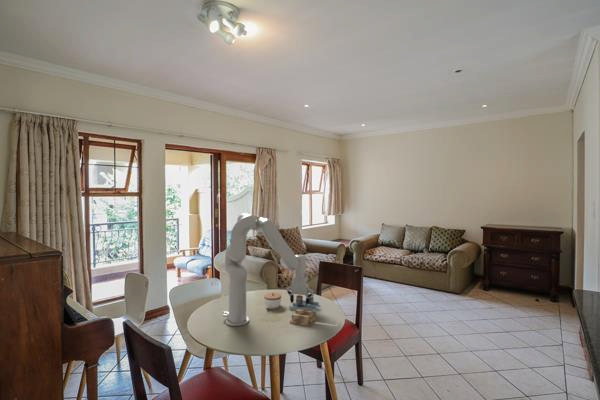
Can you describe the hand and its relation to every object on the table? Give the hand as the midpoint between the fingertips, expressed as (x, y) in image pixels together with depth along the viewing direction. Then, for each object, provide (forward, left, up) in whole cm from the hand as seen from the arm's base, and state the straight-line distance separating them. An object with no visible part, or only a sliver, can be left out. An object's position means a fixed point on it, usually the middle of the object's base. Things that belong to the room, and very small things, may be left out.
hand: (299, 303), depth 180 cm
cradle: (+7, -14, -4) cm, 16 cm away
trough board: (+2, +3, -4) cm, 6 cm away
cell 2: (+5, +6, -3) cm, 8 cm away
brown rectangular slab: (+7, -14, -3) cm, 16 cm away
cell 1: (0, 0, -3) cm, 3 cm away
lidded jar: (-17, -2, -5) cm, 18 cm away
